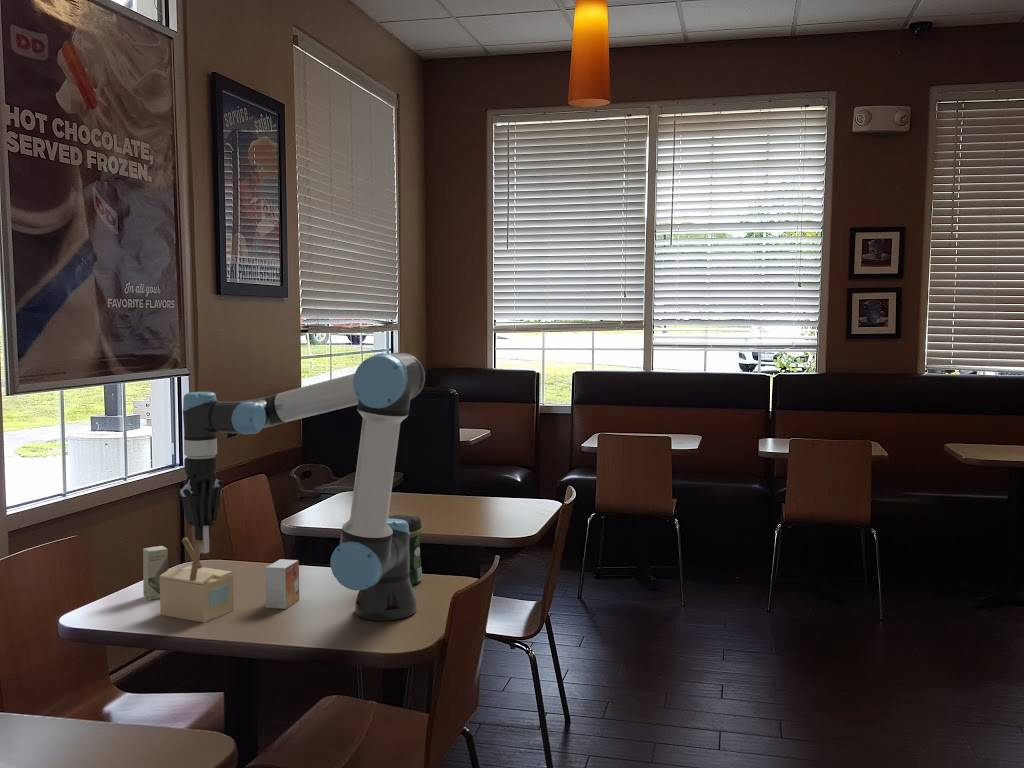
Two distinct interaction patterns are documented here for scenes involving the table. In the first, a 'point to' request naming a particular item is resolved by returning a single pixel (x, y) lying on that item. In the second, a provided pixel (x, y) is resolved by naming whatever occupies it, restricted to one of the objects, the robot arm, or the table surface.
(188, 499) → the robot arm
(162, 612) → the carton
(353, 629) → the table surface
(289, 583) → the small box
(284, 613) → the table surface
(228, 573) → the right flap
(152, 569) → the box
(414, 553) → the coffee jar
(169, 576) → the left flap
